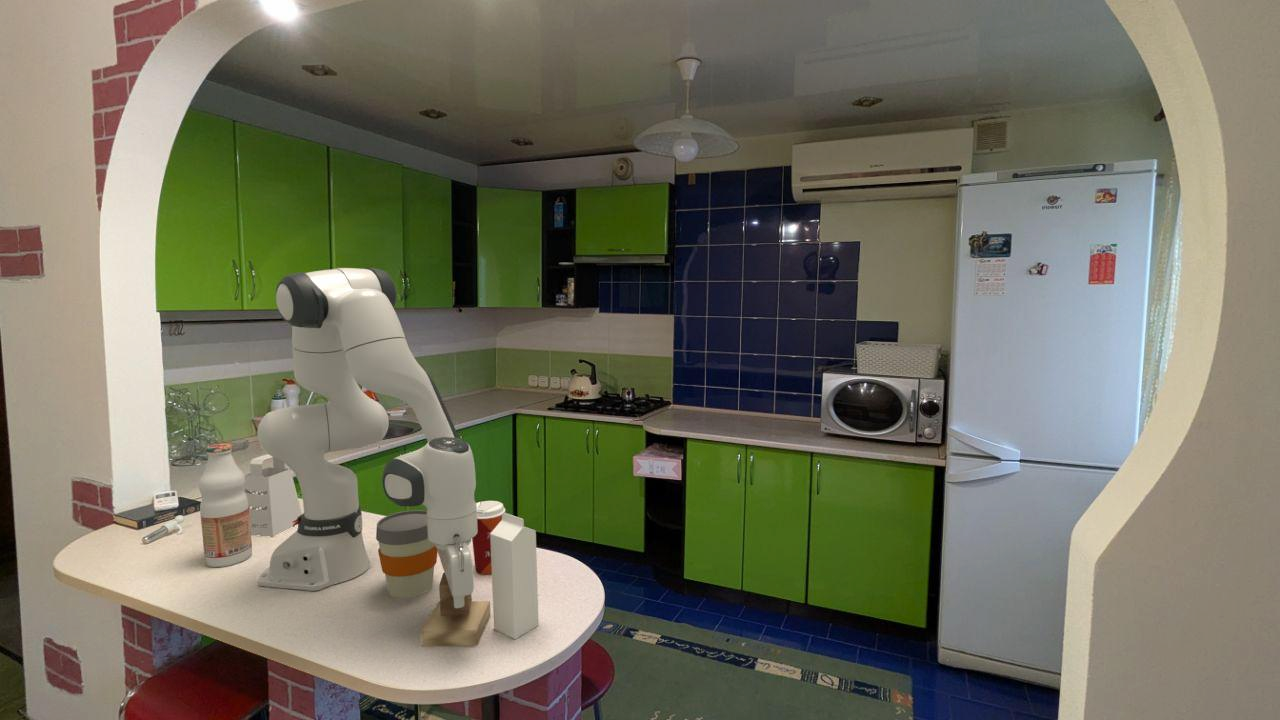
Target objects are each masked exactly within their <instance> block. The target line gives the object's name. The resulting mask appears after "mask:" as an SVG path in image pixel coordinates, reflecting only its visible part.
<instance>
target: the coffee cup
mask: <svg viewBox="0 0 1280 720" xmlns="http://www.w3.org/2000/svg"><path fill="white" fill-rule="evenodd" d="M476 506H477V527H478V532H477V534H476V535H475V536H474V537H473V538H471V542H472V550H473V559H474V560H473V561H474V568H475V569H474V570H475V572H476V573H477V574H478V575H483V576H489V575H491V576H492V566H491V540H490V533H491V532H492V531H493V530H494V529H495V527H496V526H497V525H498V524H499V523H500V522H501V521H502V513H503V512H504V513H506V508H505V507H504V503H502V502H500V501H497V500H485V501H479V502H476Z"/></svg>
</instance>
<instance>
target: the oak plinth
mask: <svg viewBox="0 0 1280 720" xmlns="http://www.w3.org/2000/svg"><path fill="white" fill-rule="evenodd" d="M490 618H491V600H472V601H471V606H470V611H469V614H461V615H451V616H441V614H440V601H438V602H437V604H436V605H435V607H434V608H433V610H432V612H431V613H430V615H429V617H428V618H427V620H426V622H425V623H424V624H423V627H422V628H421V629H420V640H421V641H420V643H421V647H452V646H453V647H465V646H469V647H471V646H474V647H475V646H478V645H479V643H480V641H481V638H482V636H483V634H484V632H485V629H486V626H487V625H488V622H489V620H490Z"/></svg>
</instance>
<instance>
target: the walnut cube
mask: <svg viewBox="0 0 1280 720" xmlns="http://www.w3.org/2000/svg"><path fill="white" fill-rule="evenodd" d="M438 590H439V602H440V614H441V616H451V615H461V614H469V611H470V606H471V601H473V598H472V594H470V595H466V596H465V597H464V606H463V607H461V608H455V607H454V604H453V596H452V594H451V591H450V588H449V585H448V582H447V578H446V575H445V572H444V571H443V572H442V576H441V579H440V581H439V584H438Z"/></svg>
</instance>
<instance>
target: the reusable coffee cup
mask: <svg viewBox="0 0 1280 720" xmlns="http://www.w3.org/2000/svg"><path fill="white" fill-rule="evenodd" d="M375 539H376V541H378V546H379V547H378V549H377V550H378V551H377V552H378V556H379V557H378V558H379V562H380V567H381V572H382V573H383V574H384V577H385V582H386V586H387V591H388V593H389V595H391V596H392V597H395V598H411V597H415V596H419V595H421V594H424V593H426V592H428V591H429V590H430V589H431V588H432V587H433V585H434V573H435V566H436V564H437V562H438V551H437V548H436V546H435V543H432V542H431V541H429V540H428V533H427V509H426V510H425V509H414V510H413V509H412V510H403V511H399V512H395V513H391V514H388V515H386V516H384V517H382V518H380V519H379V520H378V521H377V523H376V534H375Z"/></svg>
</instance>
